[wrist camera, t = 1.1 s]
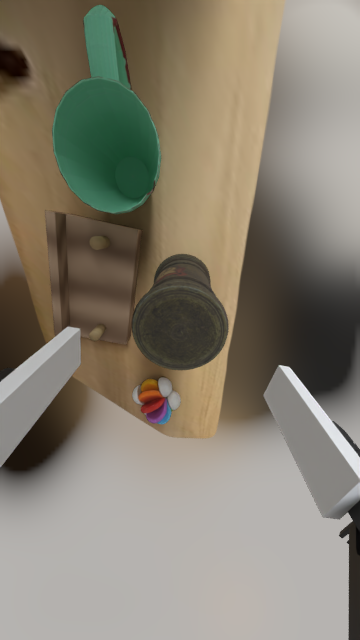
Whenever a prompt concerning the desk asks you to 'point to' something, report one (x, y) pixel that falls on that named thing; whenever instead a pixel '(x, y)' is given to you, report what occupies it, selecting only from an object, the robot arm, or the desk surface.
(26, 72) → the desk surface
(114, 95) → the mug
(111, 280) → the ledge
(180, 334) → the container
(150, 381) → the rainbow striped lobed toy
